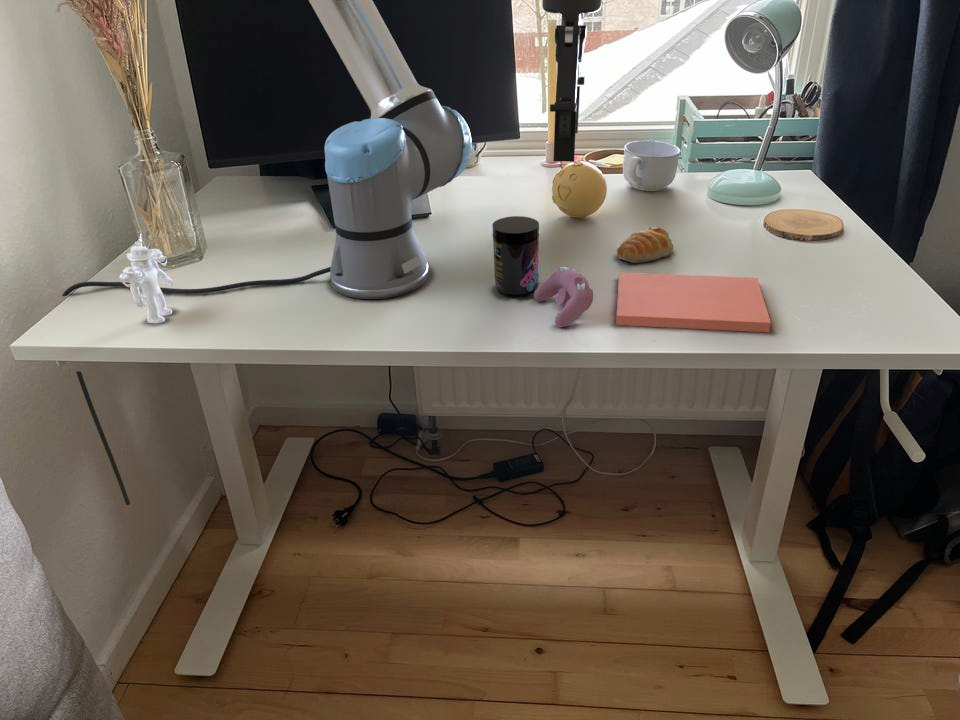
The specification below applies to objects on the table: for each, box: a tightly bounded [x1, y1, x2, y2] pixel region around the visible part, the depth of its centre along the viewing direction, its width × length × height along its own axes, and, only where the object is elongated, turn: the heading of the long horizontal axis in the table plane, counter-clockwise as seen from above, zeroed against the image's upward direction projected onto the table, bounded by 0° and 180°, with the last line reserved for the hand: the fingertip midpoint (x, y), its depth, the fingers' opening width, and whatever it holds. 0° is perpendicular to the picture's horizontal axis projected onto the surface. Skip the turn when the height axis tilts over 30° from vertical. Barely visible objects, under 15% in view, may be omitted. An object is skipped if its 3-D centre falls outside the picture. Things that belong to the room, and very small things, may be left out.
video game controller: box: [533, 266, 595, 328], centre depth 106 cm, size 10×5×7 cm, turn 17°
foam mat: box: [615, 272, 772, 333], centre depth 107 cm, size 20×14×2 cm
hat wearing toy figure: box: [119, 233, 174, 324], centre depth 108 cm, size 9×4×12 cm, turn 170°
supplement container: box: [491, 215, 540, 299], centre depth 111 cm, size 7×7×10 cm
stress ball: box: [551, 160, 608, 218], centre depth 137 cm, size 10×10×10 cm
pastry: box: [616, 226, 675, 264], centre depth 122 cm, size 9×7×4 cm
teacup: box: [622, 140, 681, 192], centre depth 149 cm, size 14×11×8 cm
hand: (566, 146), depth 106 cm, fingers open, 13 cm apart
